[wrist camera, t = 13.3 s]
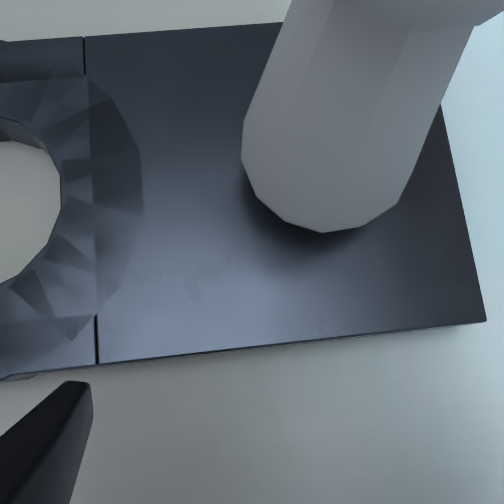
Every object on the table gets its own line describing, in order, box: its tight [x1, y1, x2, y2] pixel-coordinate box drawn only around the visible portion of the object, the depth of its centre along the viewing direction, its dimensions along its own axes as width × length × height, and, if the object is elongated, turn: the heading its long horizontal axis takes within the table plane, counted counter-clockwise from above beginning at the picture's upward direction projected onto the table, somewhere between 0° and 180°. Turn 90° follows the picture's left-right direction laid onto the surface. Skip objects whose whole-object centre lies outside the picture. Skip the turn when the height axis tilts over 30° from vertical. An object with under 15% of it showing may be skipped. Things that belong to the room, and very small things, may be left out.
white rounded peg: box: [241, 0, 504, 233], centre depth 12 cm, size 6×6×13 cm
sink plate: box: [0, 22, 487, 382], centre depth 19 cm, size 25×13×2 cm, turn 96°
